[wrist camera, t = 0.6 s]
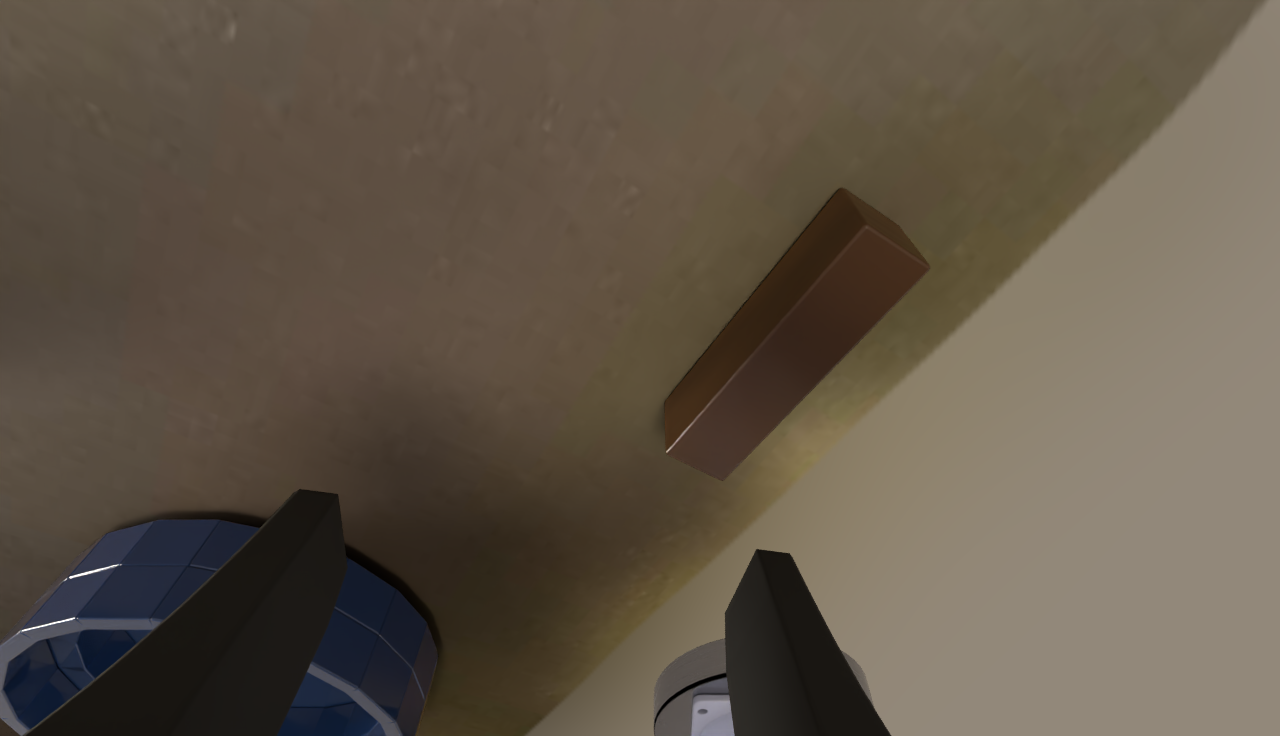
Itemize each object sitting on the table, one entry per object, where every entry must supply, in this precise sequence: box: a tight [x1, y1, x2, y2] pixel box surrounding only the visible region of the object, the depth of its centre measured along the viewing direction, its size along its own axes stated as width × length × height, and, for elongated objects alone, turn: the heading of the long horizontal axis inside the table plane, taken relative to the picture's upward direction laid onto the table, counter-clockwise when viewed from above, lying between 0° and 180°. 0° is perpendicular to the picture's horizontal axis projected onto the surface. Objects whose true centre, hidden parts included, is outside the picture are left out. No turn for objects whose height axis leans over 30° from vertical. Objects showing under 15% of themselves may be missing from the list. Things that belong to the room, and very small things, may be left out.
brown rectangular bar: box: [665, 188, 930, 481], centre depth 17 cm, size 8×2×2 cm, turn 148°
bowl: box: [0, 519, 438, 736], centre depth 25 cm, size 14×14×4 cm
